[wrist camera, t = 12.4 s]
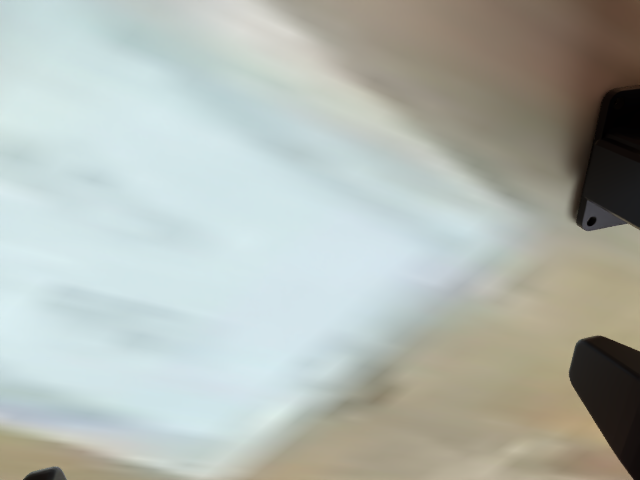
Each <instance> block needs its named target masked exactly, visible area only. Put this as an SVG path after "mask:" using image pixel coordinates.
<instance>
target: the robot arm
mask: <svg viewBox="0 0 640 480" xmlns="http://www.w3.org/2000/svg"><path fill="white" fill-rule="evenodd" d="M616 99H617V102H616V104H615V105H614V103H615V100H616ZM589 218H590V219H589ZM588 219H589V220H588ZM576 223H577V225H578V226H579V227H581V228H582V229H584V230H586V231H591V230H596V229H602V228H607V227H612V226H617V225H622V224H627V223H628V224H630V225H632V226H634V227H635V228H637V229H639V230H640V85H639V86H632V87H624V88H617V89H613V90H610V91H609V92H608V93H607V94H606V95H605V96H604V98H603V101H602V104H601V109H600V113H599V118H598V122H597V127H596V132H595V136H594V141H593V146H592V150H591V155H590V159H589V164H588V169H587V173H586V178H585V183H584V187H583V192H582V196H581V201H580V206H579V210H578V215H577V221H576ZM569 377H570V381H571V384H572V386H573V387H574V389H575V391H576V392H577V394H578V395H579V397H580V399H581V400H582V402H583V403H584V405H585V407H586V408H587V410H588V411H589V413H590V415H591V416H592V418H593V420H594V421H595V423H596V424H597V426H598V428H599V429H600V431H601V432H602V434H603V436H604V437H605V439H606V440H607V442H608V444H609V445H610V447H611V448H612V450H613V451H614V453H615V454H616V456H617V457H618V459H619V460H620V462H621V463H622V464H623V466H624V467H625V469H626V470H627V471H628V473H629V474H630V475H631V477H632V478H633V479H634V480H640V351H637V350H635V349H633V348H630V347H628V346H625V345H623V344H620V343H618V342H616V341H613V340H611V339H608V338H606V337H603V336H593V337H588V338H584V339H581V340H579V341H578V342H577V343H576V346H575V349H574V353H573V357H572V361H571V365H570V369H569ZM23 480H67V479H66V477H65V475H64V473H63V471H62V470H61V469H60V468H59V467H50V468H46V469H41V470H37V471H34V472H31V473H29V474H28V475H27V476H26V477H25V478H24V479H23Z"/></svg>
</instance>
